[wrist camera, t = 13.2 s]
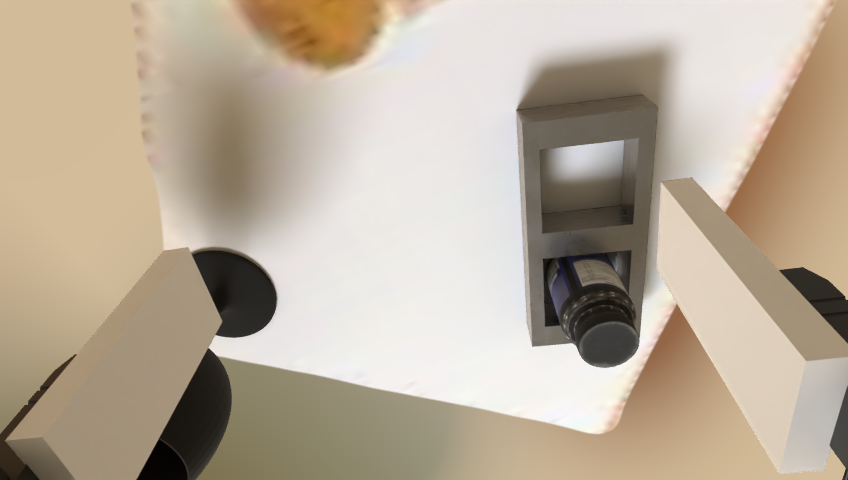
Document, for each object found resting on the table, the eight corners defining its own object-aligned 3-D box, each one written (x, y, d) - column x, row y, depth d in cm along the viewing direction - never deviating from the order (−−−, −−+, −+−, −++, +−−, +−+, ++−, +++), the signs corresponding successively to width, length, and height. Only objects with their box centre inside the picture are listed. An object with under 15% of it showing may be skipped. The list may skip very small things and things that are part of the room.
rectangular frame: (516, 110, 44) (522, 123, 41) (642, 94, 44) (657, 107, 40) (526, 323, 55) (532, 346, 52) (628, 314, 54) (639, 337, 51)
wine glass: (290, 273, 53) (218, 442, 35) (261, 348, 58) (185, 530, 40) (182, 234, 51) (51, 393, 34) (162, 315, 56) (38, 491, 38)
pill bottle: (570, 305, 54) (598, 387, 44) (531, 267, 52) (552, 344, 42) (623, 269, 52) (665, 347, 42) (584, 228, 50) (619, 300, 40)
